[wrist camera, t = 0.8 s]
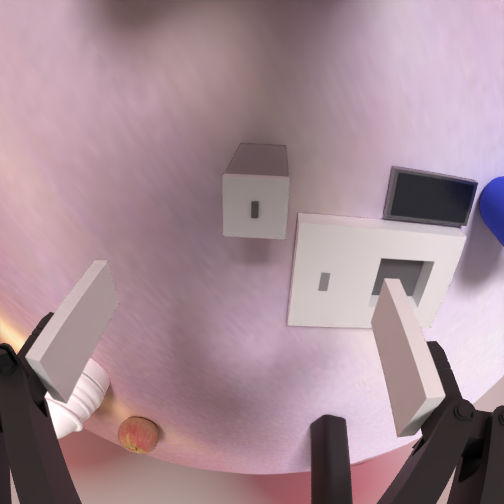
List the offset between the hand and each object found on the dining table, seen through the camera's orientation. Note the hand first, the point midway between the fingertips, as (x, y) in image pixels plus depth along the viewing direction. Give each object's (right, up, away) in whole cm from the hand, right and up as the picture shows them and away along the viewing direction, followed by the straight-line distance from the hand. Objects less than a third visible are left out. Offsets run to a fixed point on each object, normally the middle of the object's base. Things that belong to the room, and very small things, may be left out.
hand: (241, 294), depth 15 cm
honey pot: (-33, -21, +40) cm, 56 cm away
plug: (+2, +11, +17) cm, 20 cm away
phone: (+20, +8, +17) cm, 28 cm away
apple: (-24, -36, +48) cm, 64 cm away
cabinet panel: (+15, -1, +23) cm, 27 cm away
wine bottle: (+15, -31, +42) cm, 54 cm away
